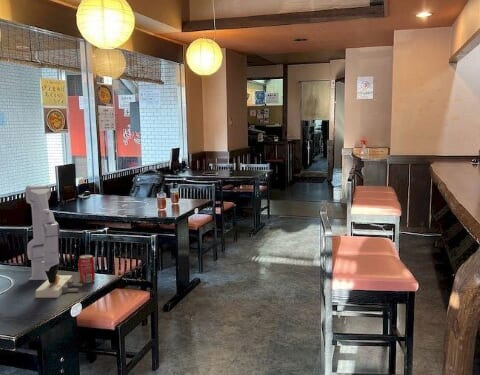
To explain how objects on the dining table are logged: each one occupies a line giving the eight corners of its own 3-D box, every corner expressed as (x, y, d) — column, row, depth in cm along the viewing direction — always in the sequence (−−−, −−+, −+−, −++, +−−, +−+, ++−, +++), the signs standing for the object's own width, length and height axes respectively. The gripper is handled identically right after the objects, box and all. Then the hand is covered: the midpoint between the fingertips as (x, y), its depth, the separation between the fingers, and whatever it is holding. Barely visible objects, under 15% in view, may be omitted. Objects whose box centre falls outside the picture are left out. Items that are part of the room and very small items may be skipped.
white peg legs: (69, 285, 205) (69, 280, 204) (82, 285, 205) (82, 280, 205) (62, 292, 196) (62, 287, 195) (77, 292, 196) (76, 287, 196)
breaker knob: (51, 281, 200) (51, 274, 199) (58, 281, 200) (58, 274, 200) (49, 283, 197) (49, 276, 197) (57, 283, 198) (56, 276, 197)
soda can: (87, 278, 215) (86, 253, 214) (98, 280, 212) (97, 255, 210) (75, 282, 209) (74, 256, 208) (86, 285, 206) (85, 259, 204)
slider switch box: (52, 281, 209) (52, 275, 209) (72, 281, 210) (72, 275, 210) (35, 297, 190) (35, 290, 189) (58, 297, 190) (57, 290, 190)
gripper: (46, 247, 201) (47, 277, 203) (35, 256, 187) (36, 288, 188) (63, 247, 202) (64, 276, 203) (53, 256, 187) (54, 288, 189)
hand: (52, 282), depth 196 cm, fingers closed
